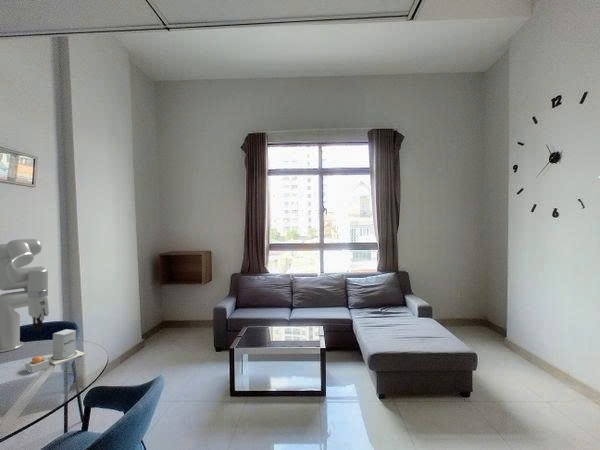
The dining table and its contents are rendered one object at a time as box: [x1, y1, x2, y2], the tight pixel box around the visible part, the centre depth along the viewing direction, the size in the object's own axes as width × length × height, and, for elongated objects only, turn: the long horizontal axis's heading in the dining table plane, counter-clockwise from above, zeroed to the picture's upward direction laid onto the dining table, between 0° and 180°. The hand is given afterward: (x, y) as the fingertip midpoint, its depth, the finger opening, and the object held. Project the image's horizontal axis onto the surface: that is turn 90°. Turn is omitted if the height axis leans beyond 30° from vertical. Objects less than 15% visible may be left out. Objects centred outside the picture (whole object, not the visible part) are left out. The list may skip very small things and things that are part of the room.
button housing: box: [24, 358, 50, 373], centre depth 152 cm, size 7×7×4 cm
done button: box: [31, 355, 44, 364], centre depth 152 cm, size 4×4×3 cm
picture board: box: [43, 349, 86, 366], centre depth 165 cm, size 14×14×1 cm
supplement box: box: [52, 328, 77, 358], centre depth 165 cm, size 7×7×13 cm
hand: (37, 330), depth 151 cm, fingers closed
